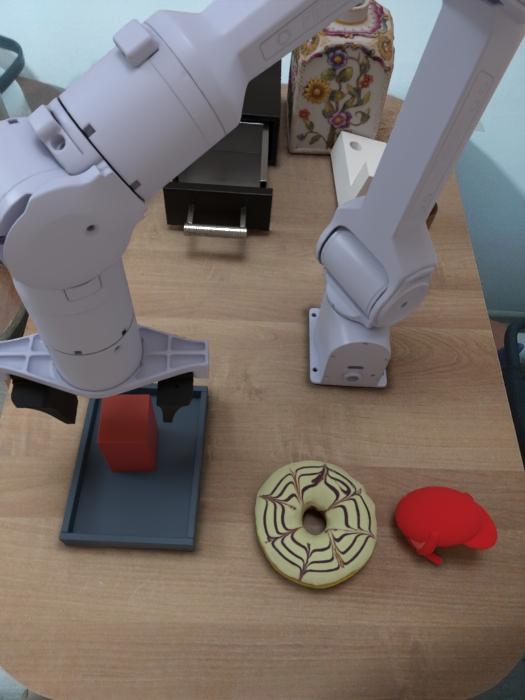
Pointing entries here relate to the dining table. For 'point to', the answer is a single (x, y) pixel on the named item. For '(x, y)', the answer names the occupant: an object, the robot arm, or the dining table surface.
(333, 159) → the bracket
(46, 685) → the dining table surface
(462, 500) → the cap
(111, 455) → the red block
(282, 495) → the decorated donut
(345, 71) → the decorative jar
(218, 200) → the drawer
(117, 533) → the tray
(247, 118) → the black drawer cabinet
